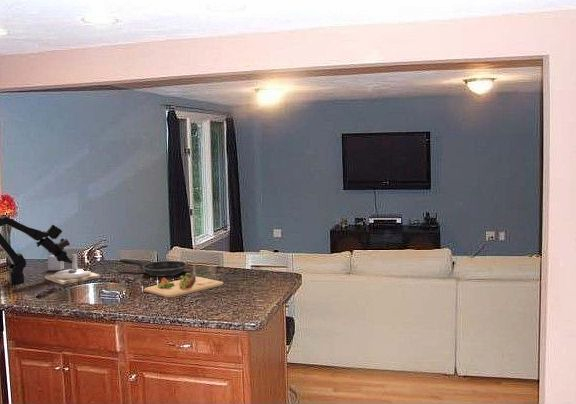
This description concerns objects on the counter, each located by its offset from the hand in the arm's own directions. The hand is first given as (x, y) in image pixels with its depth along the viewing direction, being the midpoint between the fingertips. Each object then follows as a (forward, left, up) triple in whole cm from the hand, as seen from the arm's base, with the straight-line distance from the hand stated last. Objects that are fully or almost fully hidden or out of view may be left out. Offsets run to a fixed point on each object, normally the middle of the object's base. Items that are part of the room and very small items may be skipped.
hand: (71, 262), depth 338 cm
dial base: (-3, -8, -7) cm, 11 cm away
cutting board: (+25, -76, -8) cm, 80 cm away
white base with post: (-3, -8, -5) cm, 10 cm away
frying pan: (+35, -31, -8) cm, 48 cm away
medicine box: (+1, +23, -7) cm, 24 cm away
